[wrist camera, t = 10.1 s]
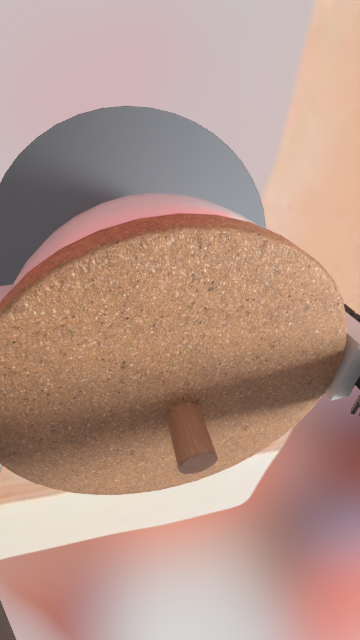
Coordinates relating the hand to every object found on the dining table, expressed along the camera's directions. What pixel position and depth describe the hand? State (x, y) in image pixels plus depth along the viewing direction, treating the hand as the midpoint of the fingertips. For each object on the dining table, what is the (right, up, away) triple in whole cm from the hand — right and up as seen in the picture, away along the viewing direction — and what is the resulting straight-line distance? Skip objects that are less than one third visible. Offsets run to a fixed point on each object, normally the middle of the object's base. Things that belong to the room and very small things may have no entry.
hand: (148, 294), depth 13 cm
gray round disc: (-1, +1, +2) cm, 2 cm away
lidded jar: (0, +1, +1) cm, 1 cm away
